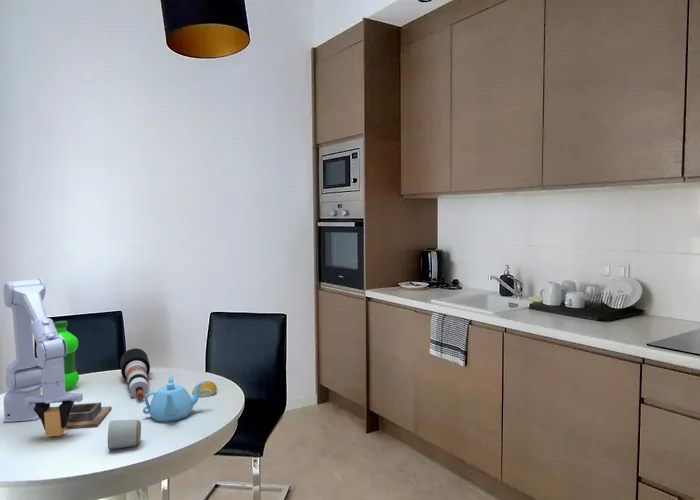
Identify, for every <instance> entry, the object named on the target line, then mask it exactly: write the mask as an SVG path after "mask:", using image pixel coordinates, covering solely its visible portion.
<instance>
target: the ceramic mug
mask: <svg viewBox="0 0 700 500" xmlns="http://www.w3.org/2000/svg"><path fill="white" fill-rule="evenodd" d="M141 436H142V423H141V421H140V419H116V420H115V419H114V420H110V422H109V424H108V427H107V449H108V450H116V449H122V448H130V447H132V448H133V447H135V446H139V444H140V442H141V439H142V438H141Z"/></svg>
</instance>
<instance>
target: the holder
mask: <svg viewBox="0 0 700 500" xmlns="http://www.w3.org/2000/svg"><path fill="white" fill-rule="evenodd" d="M111 411H112V406H110V405H109V406H102V402H90V403H89V402H87V403H74V404H73V406H72V408H71V410H70V413H69V417H68V421H67V426H66V430H74V429H75V430H76V429H87V428H88V429H89V428H98V427H99V425H100V424H101V423H102V421H103V420H104V419H105V418H106V417H107V416H108V415H109V413H110V412H111Z"/></svg>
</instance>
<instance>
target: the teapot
mask: <svg viewBox="0 0 700 500" xmlns="http://www.w3.org/2000/svg"><path fill="white" fill-rule="evenodd" d="M205 381H206V380H204V381H200V382H198V383H197V384H196V385H195V386H196V387H195V386H194V387H195V393H194V395H193V394H192V396H191V395H190V393H189V392H188V391H187V390H186V388H185V387H184V386H182V385H181V384H176V383H175V382H174V376H172V375H168V383H166V384H165V385H164V386H161V387H160V388H159V389H157V390H156V391H153V390H152V391H148V392H147V394H146V395H145V396H144V403H145V406H144V407H143V409H142V413H143V414H144V415H149V416H151V417H152V418H153V420H155V421H158V422H162V423H163V422H164V423H165V422H166V423H167V422H175V421H179V420H182V419H184V418H186V417H188V416H189V415H190V414H191V412H192V411H193V408H194V406H195V405H196V404H197V403H198V401H199V398H200V397H199V390H200V387H201V385H202V384H203V383H204V382H205ZM150 395H151V396H152V395H153V397H152V400H151V401H150V403H149V400H148V397H149V396H150Z"/></svg>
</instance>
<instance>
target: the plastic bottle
mask: <svg viewBox="0 0 700 500" xmlns="http://www.w3.org/2000/svg"><path fill="white" fill-rule="evenodd" d="M53 323H54V325H55V328H56V330H57V333H58V335H61V336H62V337H63V338H64V339H65V342H66V345H67V354H66V356H65V357H63V358H64V375H65V392H66V391H70V390H72V389H73V388H74V387H75V386H76V385H77V384H78V382H79V379H80V375H79V373H78V371H77V370H76V368H77V367H76V350H77V349H78V347H79V340H78V337H76V335H74V334H73V333H71V332H70V331H68V330H67V327H69V325H68V324H69V323H68V320H59V321H53Z"/></svg>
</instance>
